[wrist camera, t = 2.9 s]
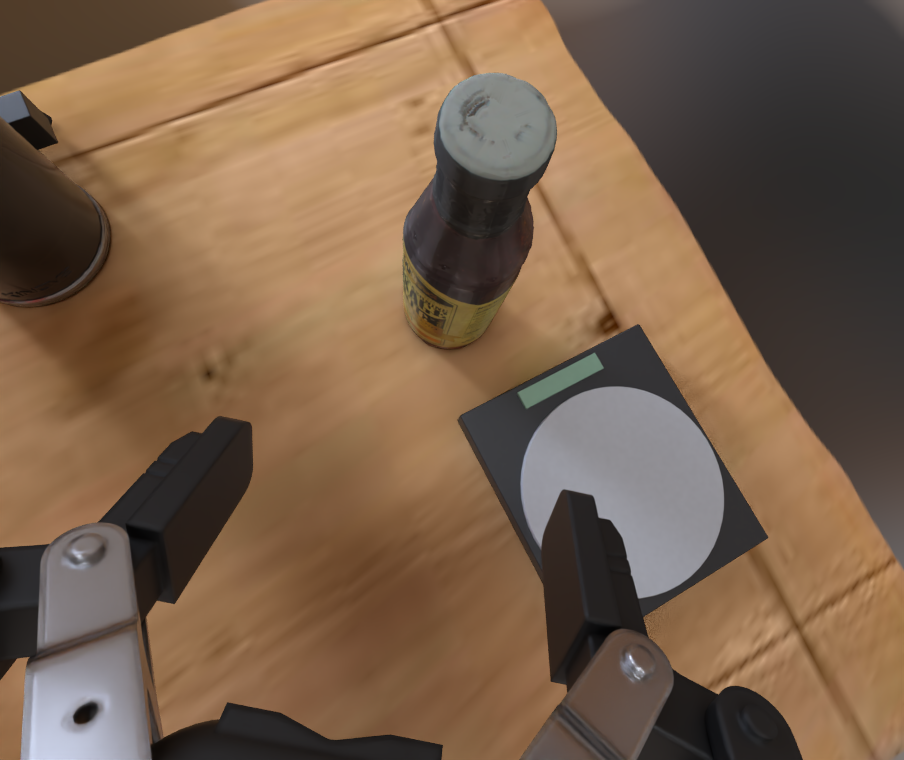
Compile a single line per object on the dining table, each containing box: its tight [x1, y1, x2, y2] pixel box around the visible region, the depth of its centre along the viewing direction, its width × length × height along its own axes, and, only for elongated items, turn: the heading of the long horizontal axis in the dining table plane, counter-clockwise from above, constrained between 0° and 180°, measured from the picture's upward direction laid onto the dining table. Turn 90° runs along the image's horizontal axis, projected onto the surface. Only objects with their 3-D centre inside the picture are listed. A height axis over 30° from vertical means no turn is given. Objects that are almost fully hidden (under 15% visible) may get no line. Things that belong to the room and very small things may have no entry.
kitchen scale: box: [458, 324, 768, 617], centre depth 33 cm, size 16×14×3 cm
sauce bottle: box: [403, 73, 557, 349], centre depth 26 cm, size 7×6×20 cm
